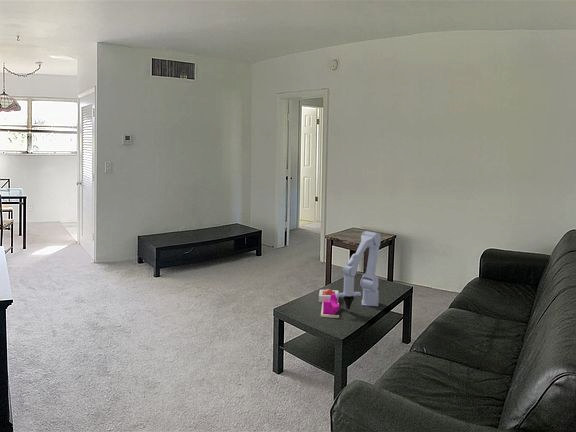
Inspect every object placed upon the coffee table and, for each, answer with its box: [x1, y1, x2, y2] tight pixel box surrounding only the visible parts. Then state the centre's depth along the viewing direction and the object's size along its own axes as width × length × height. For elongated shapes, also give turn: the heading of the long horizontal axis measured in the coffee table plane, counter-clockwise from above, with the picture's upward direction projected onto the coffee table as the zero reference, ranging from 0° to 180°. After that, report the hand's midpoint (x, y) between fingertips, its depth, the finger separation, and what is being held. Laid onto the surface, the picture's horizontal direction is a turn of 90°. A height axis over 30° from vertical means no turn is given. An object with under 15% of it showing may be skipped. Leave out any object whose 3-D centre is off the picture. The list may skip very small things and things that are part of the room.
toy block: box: [323, 294, 340, 315], centre depth 270 cm, size 15×6×8 cm, turn 156°
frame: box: [320, 302, 340, 319], centre depth 270 cm, size 10×20×1 cm, turn 174°
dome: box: [323, 288, 335, 295], centre depth 288 cm, size 7×7×6 cm
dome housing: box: [318, 289, 339, 303], centre depth 288 cm, size 12×12×4 cm
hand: (347, 308), depth 268 cm, fingers closed
